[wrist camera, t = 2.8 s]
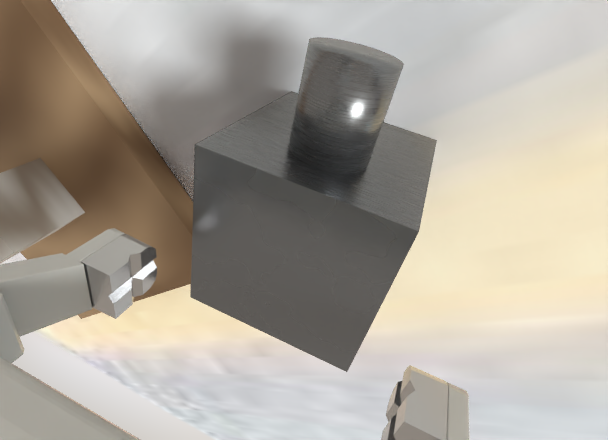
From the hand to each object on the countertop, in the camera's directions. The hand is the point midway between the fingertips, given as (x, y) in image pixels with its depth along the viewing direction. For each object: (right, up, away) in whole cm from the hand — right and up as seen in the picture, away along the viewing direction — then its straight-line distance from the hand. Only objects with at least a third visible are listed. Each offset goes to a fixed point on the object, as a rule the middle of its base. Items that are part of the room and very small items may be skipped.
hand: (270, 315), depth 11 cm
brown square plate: (-15, +5, +14) cm, 21 cm away
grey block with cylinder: (+3, +6, +5) cm, 8 cm away
